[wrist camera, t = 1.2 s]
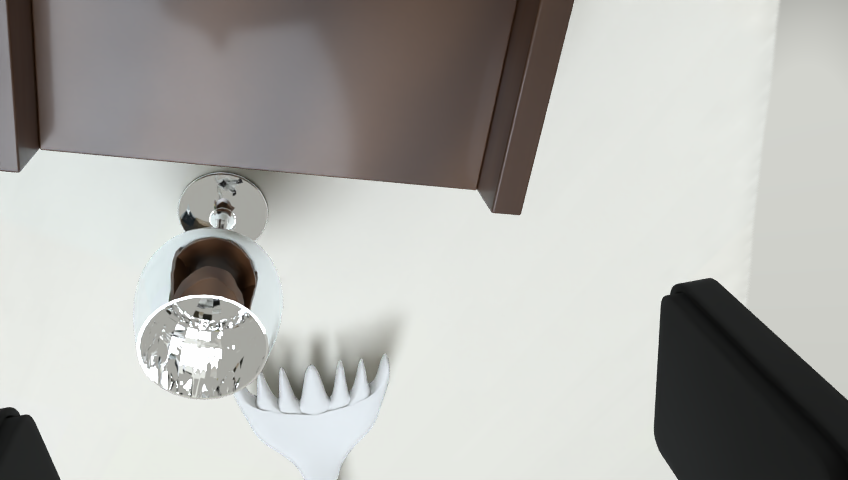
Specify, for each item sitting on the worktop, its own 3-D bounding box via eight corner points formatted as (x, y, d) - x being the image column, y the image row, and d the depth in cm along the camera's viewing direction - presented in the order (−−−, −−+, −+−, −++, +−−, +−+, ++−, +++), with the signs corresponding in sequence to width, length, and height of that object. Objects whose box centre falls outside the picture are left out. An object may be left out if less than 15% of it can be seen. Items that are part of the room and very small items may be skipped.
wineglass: (234, 281, 39) (220, 434, 28) (140, 220, 36) (86, 363, 26) (303, 205, 38) (316, 335, 27) (211, 136, 35) (185, 251, 25)
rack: (66, 79, 33) (-22, 170, 23) (56, -171, 29) (-57, -190, 19) (455, 124, 37) (521, 216, 27) (497, -87, 33) (592, -67, 23)
